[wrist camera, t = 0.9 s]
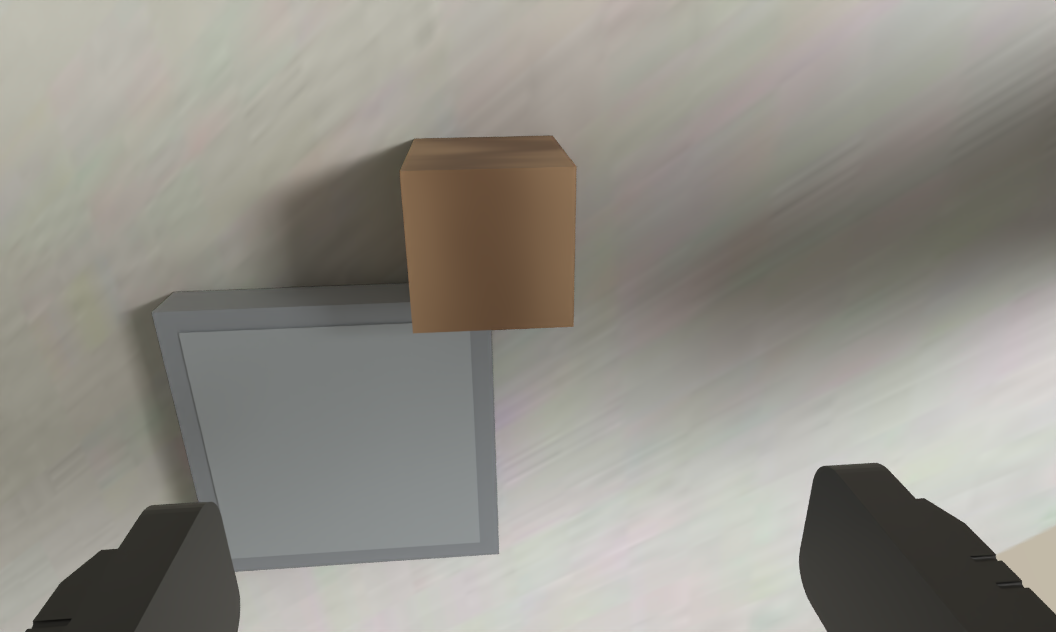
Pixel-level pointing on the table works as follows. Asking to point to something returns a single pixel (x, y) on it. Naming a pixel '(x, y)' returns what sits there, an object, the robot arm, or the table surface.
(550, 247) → the walnut block
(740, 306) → the table surface
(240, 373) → the slate coaster
